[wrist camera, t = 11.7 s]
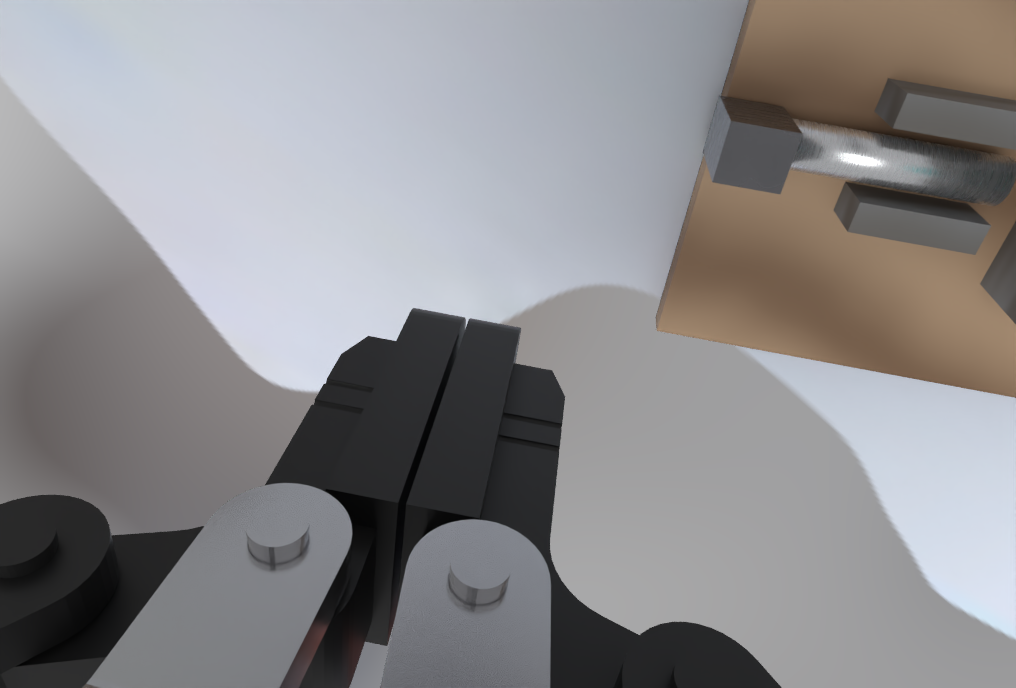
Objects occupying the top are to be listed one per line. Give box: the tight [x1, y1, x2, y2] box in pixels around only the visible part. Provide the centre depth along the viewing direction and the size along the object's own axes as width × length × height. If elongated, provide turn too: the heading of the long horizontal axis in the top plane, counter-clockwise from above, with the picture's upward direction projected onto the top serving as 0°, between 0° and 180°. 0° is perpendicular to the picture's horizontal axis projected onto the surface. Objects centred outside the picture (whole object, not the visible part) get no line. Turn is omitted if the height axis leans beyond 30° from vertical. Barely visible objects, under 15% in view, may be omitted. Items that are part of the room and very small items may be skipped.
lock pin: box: [703, 96, 1016, 206], centre depth 22 cm, size 2×9×3 cm, turn 82°
